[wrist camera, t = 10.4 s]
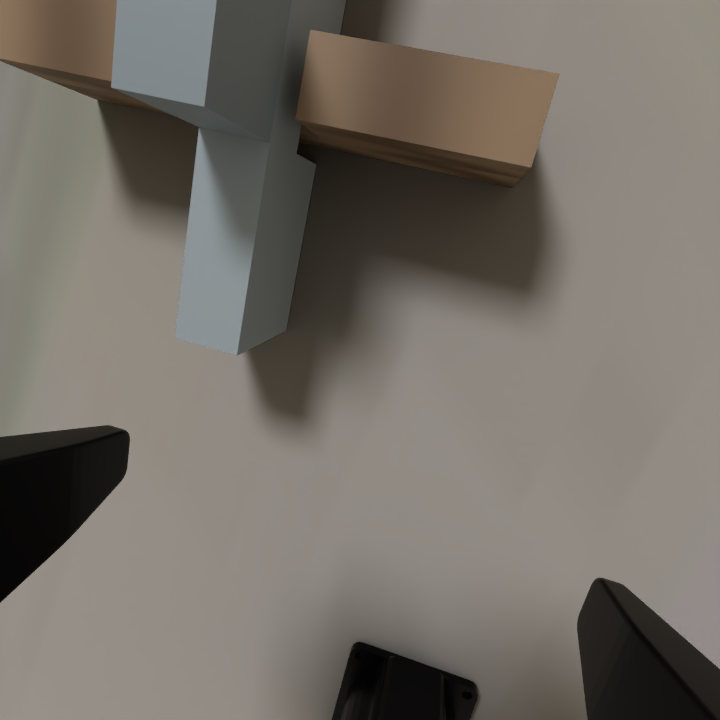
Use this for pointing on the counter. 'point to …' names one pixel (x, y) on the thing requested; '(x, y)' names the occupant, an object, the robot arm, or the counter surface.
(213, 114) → the pale blue collared bar
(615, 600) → the robot arm
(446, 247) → the counter surface
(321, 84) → the walnut slotted plate
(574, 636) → the counter surface
